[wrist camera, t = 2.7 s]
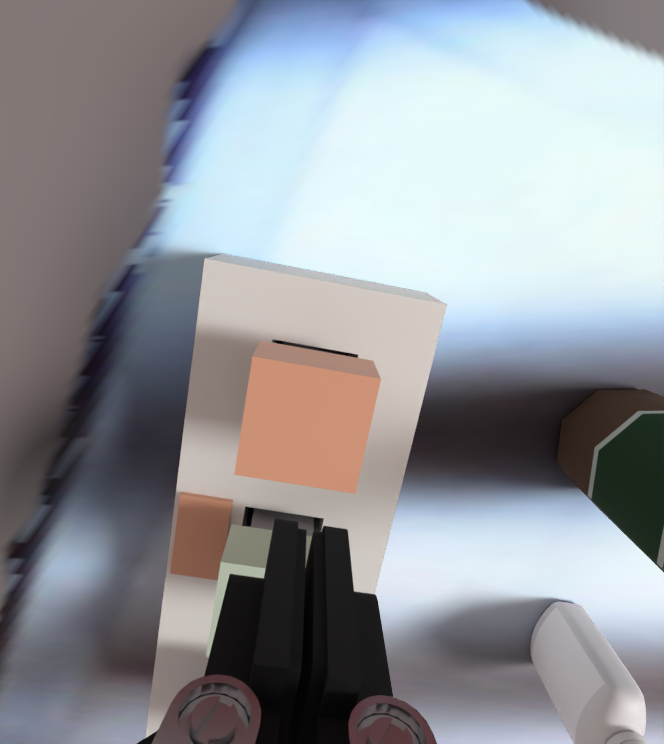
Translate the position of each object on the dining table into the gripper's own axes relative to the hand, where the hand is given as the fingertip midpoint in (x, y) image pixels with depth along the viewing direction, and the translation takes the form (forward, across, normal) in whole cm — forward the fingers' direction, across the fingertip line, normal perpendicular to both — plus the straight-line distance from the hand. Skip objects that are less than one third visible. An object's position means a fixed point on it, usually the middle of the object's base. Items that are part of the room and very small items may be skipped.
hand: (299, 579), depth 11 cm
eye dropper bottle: (+20, -21, +17) cm, 34 cm away
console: (+20, 0, +10) cm, 23 cm away
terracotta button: (+18, 0, 0) cm, 18 cm away
